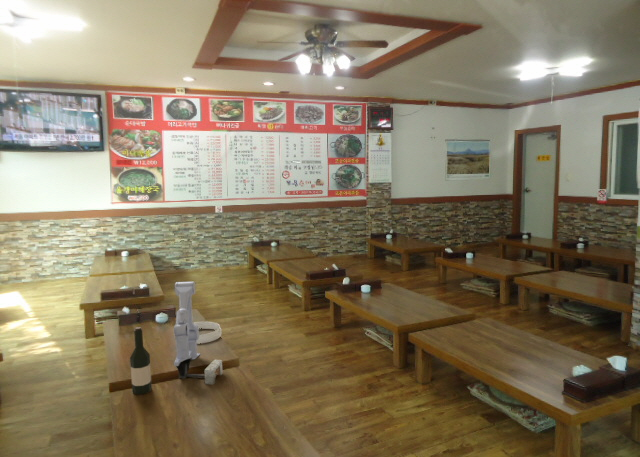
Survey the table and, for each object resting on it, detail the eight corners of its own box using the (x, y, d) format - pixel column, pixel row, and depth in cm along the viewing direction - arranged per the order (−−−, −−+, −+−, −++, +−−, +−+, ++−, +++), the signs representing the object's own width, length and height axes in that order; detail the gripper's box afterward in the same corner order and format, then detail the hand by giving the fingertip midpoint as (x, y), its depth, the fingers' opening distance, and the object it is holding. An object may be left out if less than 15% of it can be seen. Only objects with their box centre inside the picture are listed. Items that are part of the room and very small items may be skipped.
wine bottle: (155, 387, 211) (151, 325, 208) (143, 396, 203) (139, 331, 200) (141, 385, 214) (137, 324, 210) (128, 393, 206) (123, 330, 202)
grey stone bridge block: (205, 384, 214) (204, 369, 213) (214, 373, 226) (214, 359, 225) (213, 384, 213) (212, 370, 213) (222, 373, 225) (221, 360, 224)
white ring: (202, 326, 298) (202, 318, 298) (230, 334, 283) (230, 325, 282) (167, 338, 277) (167, 330, 276) (196, 347, 261) (195, 338, 260)
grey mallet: (178, 378, 220) (178, 366, 220) (182, 374, 224) (181, 363, 224) (215, 380, 217) (214, 368, 217) (218, 377, 221) (217, 365, 221)
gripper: (183, 353, 213) (184, 381, 214) (196, 342, 227) (198, 368, 228) (169, 353, 214) (171, 380, 215) (183, 341, 228) (184, 367, 230)
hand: (184, 374), depth 222 cm, fingers closed on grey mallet, 3 cm apart
